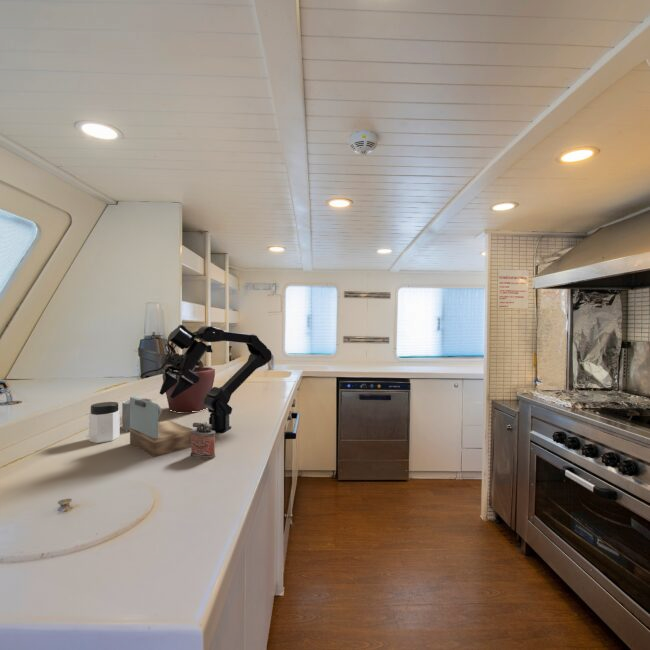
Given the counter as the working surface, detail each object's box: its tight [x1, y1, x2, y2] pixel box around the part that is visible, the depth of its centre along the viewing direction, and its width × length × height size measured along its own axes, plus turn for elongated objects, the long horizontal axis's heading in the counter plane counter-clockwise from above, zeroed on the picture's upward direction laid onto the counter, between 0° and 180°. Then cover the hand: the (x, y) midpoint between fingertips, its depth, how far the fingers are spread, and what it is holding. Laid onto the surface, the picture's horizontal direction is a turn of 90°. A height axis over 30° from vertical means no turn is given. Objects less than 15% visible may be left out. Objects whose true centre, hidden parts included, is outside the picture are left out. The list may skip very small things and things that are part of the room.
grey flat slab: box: [129, 396, 159, 439], centre depth 111 cm, size 2×18×10 cm, turn 49°
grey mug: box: [121, 398, 162, 431], centre depth 137 cm, size 13×10×10 cm
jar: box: [88, 401, 121, 444], centre depth 121 cm, size 9×8×12 cm
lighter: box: [190, 421, 216, 460], centre depth 105 cm, size 8×3×10 cm, turn 71°
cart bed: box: [129, 420, 195, 457], centre depth 115 cm, size 13×18×5 cm
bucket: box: [162, 359, 216, 412], centre depth 166 cm, size 24×22×25 cm
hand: (165, 396), depth 118 cm, fingers open, 9 cm apart
